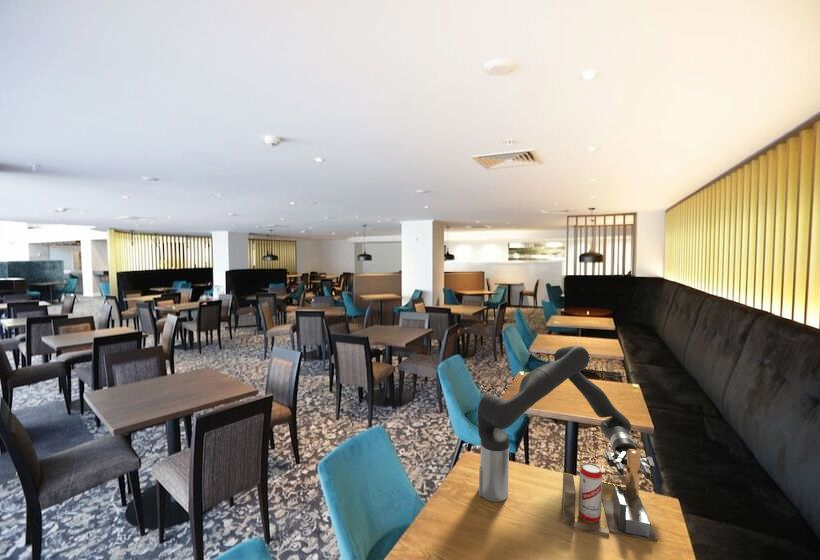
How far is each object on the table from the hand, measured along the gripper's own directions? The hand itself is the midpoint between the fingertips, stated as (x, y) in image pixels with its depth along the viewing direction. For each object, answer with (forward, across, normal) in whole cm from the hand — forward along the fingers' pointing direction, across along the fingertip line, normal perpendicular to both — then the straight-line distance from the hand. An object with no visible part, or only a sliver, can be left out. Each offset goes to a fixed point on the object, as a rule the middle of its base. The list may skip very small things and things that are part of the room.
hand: (634, 474), depth 122 cm
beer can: (+6, -13, +13) cm, 19 cm away
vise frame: (+4, -8, +13) cm, 16 cm away
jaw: (+3, -2, +12) cm, 13 cm away
